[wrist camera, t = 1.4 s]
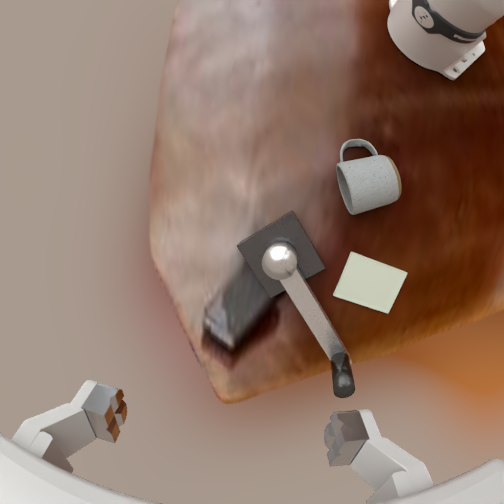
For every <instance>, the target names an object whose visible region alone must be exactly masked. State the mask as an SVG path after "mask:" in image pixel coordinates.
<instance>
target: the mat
mask: <svg viewBox="0 0 504 504" xmlns="http://www.w3.org/2000/svg"><path fill="white" fill-rule="evenodd" d="M406 275H407V272H405V271H402V270H400V269H397V268H394V267H392V266H389V265H386V264H384V263H381V262H378V261H376V260H373V259H370V258H368V257H365V256H362V255H360V254H357V253H354V252H350V255H349V258H348V260H347V263H346V265H345V267H344V270H343V272H342V275H341V277H340V279H339V282H338V284H337V287H336V289H335V291H334V293H333V296H336V297H339V298H342V299H345V300H348V301H351V302H354V303H357V304H360V305H363V306H366V307H369V308H372V309H375V310H378V311H381V312H384V313H389V311H390V309H391V307H392V305H393V303H394V301H395V299H396V297H397V295H398V293H399V291H400V288H401V286H402V284H403V282H404V280H405V277H406Z"/></svg>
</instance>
